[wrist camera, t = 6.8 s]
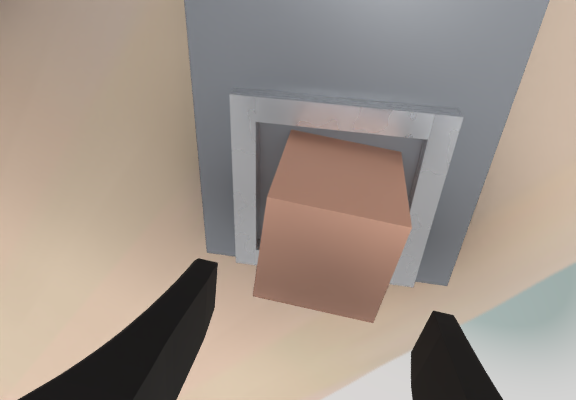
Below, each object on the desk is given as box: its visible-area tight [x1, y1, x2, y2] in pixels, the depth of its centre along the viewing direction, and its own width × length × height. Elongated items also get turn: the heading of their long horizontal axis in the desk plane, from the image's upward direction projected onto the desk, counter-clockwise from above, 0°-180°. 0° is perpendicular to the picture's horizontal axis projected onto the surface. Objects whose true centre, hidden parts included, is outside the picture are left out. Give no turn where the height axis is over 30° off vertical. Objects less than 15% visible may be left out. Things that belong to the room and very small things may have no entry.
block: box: [253, 129, 412, 323], centre depth 16 cm, size 4×4×5 cm
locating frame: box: [229, 87, 463, 287], centre depth 18 cm, size 8×8×1 cm
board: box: [184, 0, 549, 286], centre depth 16 cm, size 20×12×1 cm, turn 178°
